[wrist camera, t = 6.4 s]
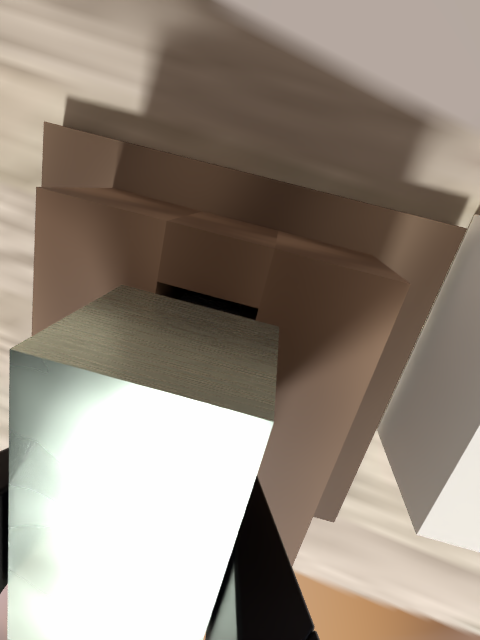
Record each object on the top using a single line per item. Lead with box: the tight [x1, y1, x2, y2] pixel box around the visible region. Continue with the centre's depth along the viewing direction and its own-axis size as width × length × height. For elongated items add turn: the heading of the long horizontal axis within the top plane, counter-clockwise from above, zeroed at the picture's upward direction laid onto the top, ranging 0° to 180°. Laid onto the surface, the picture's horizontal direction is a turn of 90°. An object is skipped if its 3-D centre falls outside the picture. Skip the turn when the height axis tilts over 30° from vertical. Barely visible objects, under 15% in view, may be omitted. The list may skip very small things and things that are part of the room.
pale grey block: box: [8, 285, 279, 640], centre depth 9 cm, size 4×7×7 cm, turn 166°
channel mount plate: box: [32, 122, 467, 566], centre depth 13 cm, size 14×13×5 cm
